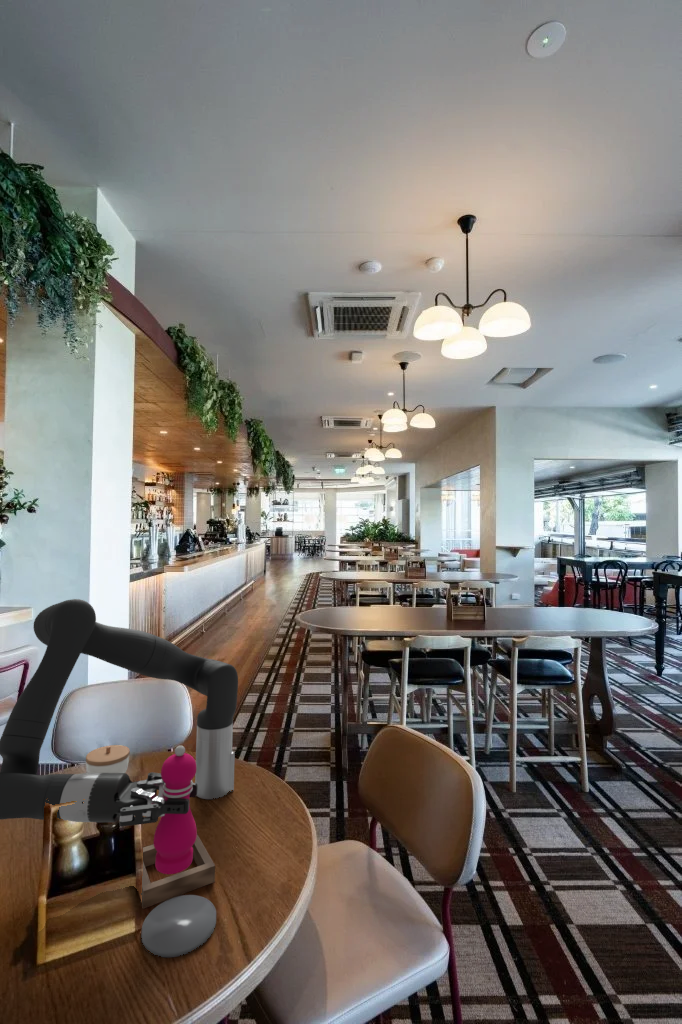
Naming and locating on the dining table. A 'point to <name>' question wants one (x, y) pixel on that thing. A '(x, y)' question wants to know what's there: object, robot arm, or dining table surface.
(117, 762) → the lidded jar
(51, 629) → the robot arm
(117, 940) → the dining table surface
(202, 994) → the dining table surface
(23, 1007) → the dining table surface
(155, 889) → the walnut board
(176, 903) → the grey round disc
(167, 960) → the dining table surface
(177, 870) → the pepper mill
